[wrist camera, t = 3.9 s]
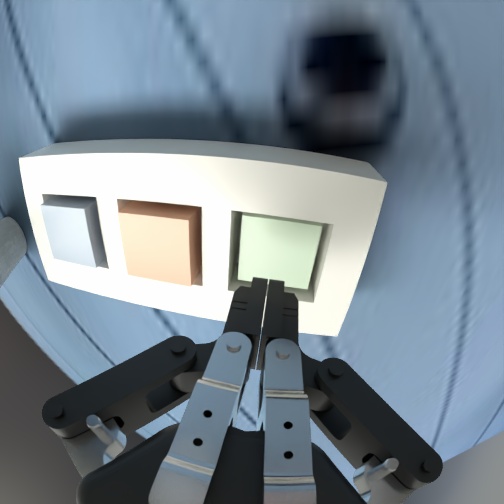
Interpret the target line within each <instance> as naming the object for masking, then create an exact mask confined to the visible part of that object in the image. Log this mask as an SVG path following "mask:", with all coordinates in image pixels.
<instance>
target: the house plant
mask: <svg viewBox="0 0 504 504" xmlns="http://www.w3.org/2000/svg"><path fill="white" fill-rule="evenodd" d="M26 251H27V243H26V239H25V236H24V233H23V231H22V229H21V228H20V226H19V225H18V223H17V222H16V221H15V220H14V219H13V218H11V217H5V218H2V219H0V287H1V286H2V285H3V283H4V282H5V280H6V279H7V277H8V276H9V275H10V273H11V272H12V271H13V269H14V268H15V267H16V265H17V264H18V263H19V261H20V260H21V259H22V257H23V256H24V255H25V254H26Z"/></svg>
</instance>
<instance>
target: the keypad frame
mask: <svg viewBox="0 0 504 504" xmlns="http://www.w3.org/2000/svg"><path fill="white" fill-rule="evenodd" d="M19 164H20V171H21V177H22V183H23V188H24V194H25V198H26V203H27V208H28V212H29V216H30V220H31V224H32V228H33V232H34V236H35V239H36V243H37V246H38V250H39V253H40V256H41V259H42V262H43V265H44V268H45V271H46V274H47V277H48V280H49V281H53V282H56V283H59V284H63V285H66V286H70V287H73V288H77V289H80V290H84V291H88V292H91V293H95V294H99V295H103V296H107V297H111V298H115V299H119V300H123V301H127V302H131V303H135V304H140V305H144V306H149V307H153V308H158V309H162V310H167V311H172V312H177V313H182V314H187V315H192V316H197V317H203V318H208V319H214V320H219V321H225V322H226V320H227V316H228V313H229V309H230V305H231V302H232V298H233V294H234V292H235V291H236V290H237V289H238V288H239V287H240V286H245V287H251V284H252V282H251V281H244V280H238V267H239V252H240V238H241V224H242V214H243V212H249V213H257V214H265V215H272V216H279V217H286V218H293V219H300V220H307V221H314V222H320V223H321V224H322V228H321V233H320V238H319V242H318V247H317V251H316V256H315V260H314V264H313V268H312V273H311V277H310V281H309V285H308V289H301V288H293V287H286V286H284V292H289V293H294V294H295V296H296V297H297V299H298V301H299V310H298V311H299V316H298V318H299V323H298V332H301V333H309V334H318V335H327V336H337V335H338V333H339V330H340V328H341V325H342V323H343V320H344V318H345V315H346V313H347V310H348V308H349V305H350V302H351V300H352V297H353V294H354V291H355V289H356V286H357V283H358V280H359V277H360V274H361V272H362V269H363V266H364V263H365V260H366V256H367V253H368V250H369V247H370V244H371V241H372V237H373V234H374V231H375V227H376V224H377V220H378V217H379V213H380V209H381V206H382V202H383V198H384V194H385V190H386V186H387V181H386V180H385V179H384V178H383V177H382V176H381V175H380V174H379V173H378V172H377V171H376V170H375V169H374V168H373V167H372V166H371V165H370V164H369V163H368V162H364V161H359V160H354V159H349V158H344V157H338V156H333V155H327V154H321V153H315V152H309V151H302V150H296V149H288V148H281V147H273V146H264V145H255V144H245V143H234V142H221V141H206V140H185V139H109V140H89V141H74V142H62V143H53V144H51V145H48V146H46V147H43V148H41V149H38V150H36V151H34V152H31V153H29V154H27V155H25V156H22V157H20V158H19ZM55 195H74V196H89V197H96V199H97V206H98V213H99V219H100V225H101V231H102V236H103V242H104V247H105V252H106V256H107V257H106V259H105V260H104V261H103V262H102V263H101V264H100V265H99V266H98V267H97V268H93V267H88V266H84V265H79V264H75V263H71V262H66V261H62V260H58V259H54V257H53V254H52V251H51V247H50V244H49V240H48V236H47V232H46V228H45V224H44V220H43V216H42V211H41V207H40V205H41V204H43V203H44V202H46V201H47V200H49V199H50V198H52V197H53V196H55ZM132 200H139V201H150V202H161V203H171V204H181V205H190V206H199V207H202V217H201V226H202V266H201V268H200V270H199V272H198V274H197V276H196V278H195V280H194V282H193V284H192V286H191V287H190V286H184V285H179V284H173V283H168V282H162V281H157V280H152V279H146V278H141V277H136V276H131V275H128V273H127V268H126V263H125V257H124V252H123V246H122V240H121V233H120V226H119V219H118V212H119V211H120V210H121V209H122V208H124V207H125V206H126V205H127V204H129V203H130V202H131V201H132ZM268 285H269V284H267V291H266V298H267V292H268ZM266 298H265V305H266ZM264 312H265V306H264ZM263 319H264V313H263ZM262 326H263V320H262Z"/></svg>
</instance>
